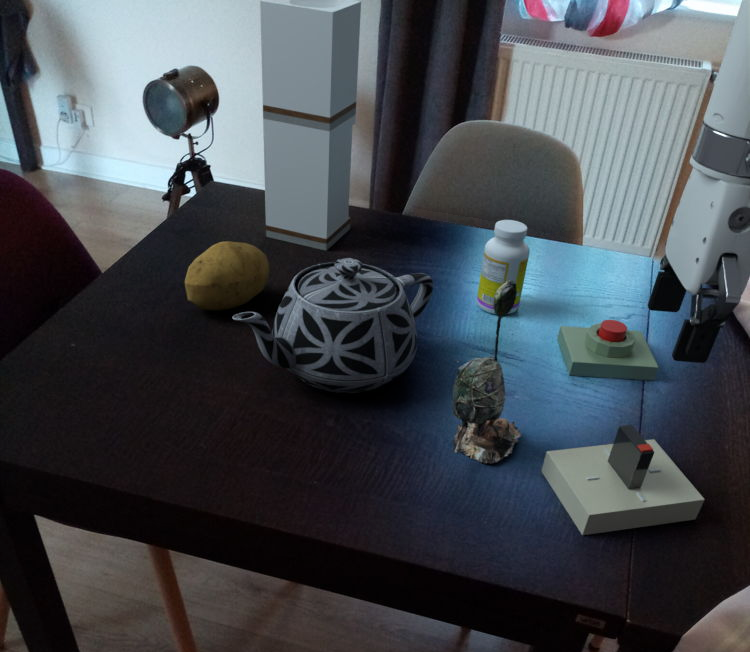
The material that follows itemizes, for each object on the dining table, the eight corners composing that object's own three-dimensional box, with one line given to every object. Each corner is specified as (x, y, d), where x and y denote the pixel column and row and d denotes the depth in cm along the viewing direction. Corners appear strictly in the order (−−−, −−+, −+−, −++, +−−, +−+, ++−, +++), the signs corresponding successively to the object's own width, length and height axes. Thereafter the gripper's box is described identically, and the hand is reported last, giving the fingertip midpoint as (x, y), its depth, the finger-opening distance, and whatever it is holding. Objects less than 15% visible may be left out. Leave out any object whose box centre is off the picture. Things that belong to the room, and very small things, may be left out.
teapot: (201, 368, 103) (191, 260, 93) (383, 311, 118) (391, 213, 108) (278, 442, 93) (276, 329, 83) (468, 369, 108) (485, 266, 98)
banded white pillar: (350, 228, 141) (361, 1, 117) (326, 250, 133) (332, 12, 110) (292, 215, 143) (292, -9, 120) (266, 236, 136) (260, 0, 112)
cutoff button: (620, 331, 111) (623, 320, 110) (626, 344, 108) (629, 333, 107) (595, 329, 111) (598, 318, 110) (600, 342, 108) (604, 331, 107)
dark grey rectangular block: (607, 461, 89) (619, 424, 86) (619, 459, 89) (632, 422, 86) (628, 489, 86) (642, 451, 82) (641, 487, 86) (655, 450, 82)
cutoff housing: (636, 344, 116) (644, 319, 114) (654, 380, 109) (663, 356, 106) (557, 338, 116) (563, 314, 113) (569, 375, 108) (575, 350, 106)
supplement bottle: (510, 295, 125) (526, 216, 117) (523, 316, 120) (541, 235, 112) (470, 296, 124) (483, 216, 115) (482, 317, 119) (496, 235, 111)
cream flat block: (646, 458, 95) (654, 437, 93) (695, 519, 87) (705, 498, 85) (541, 471, 92) (546, 450, 90) (582, 535, 84) (589, 514, 82)
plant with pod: (422, 441, 95) (443, 289, 81) (491, 413, 100) (521, 266, 87) (467, 478, 90) (496, 322, 77) (536, 447, 95) (575, 296, 82)
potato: (166, 240, 110) (198, 259, 105) (247, 227, 117) (282, 244, 112) (172, 305, 116) (204, 326, 110) (250, 288, 123) (283, 307, 117)
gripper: (827, 193, 59) (740, 385, 70) (751, 124, 72) (688, 296, 83) (728, 185, 59) (658, 379, 70) (670, 117, 72) (618, 290, 83)
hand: (674, 334), depth 76 cm, fingers open, 9 cm apart
